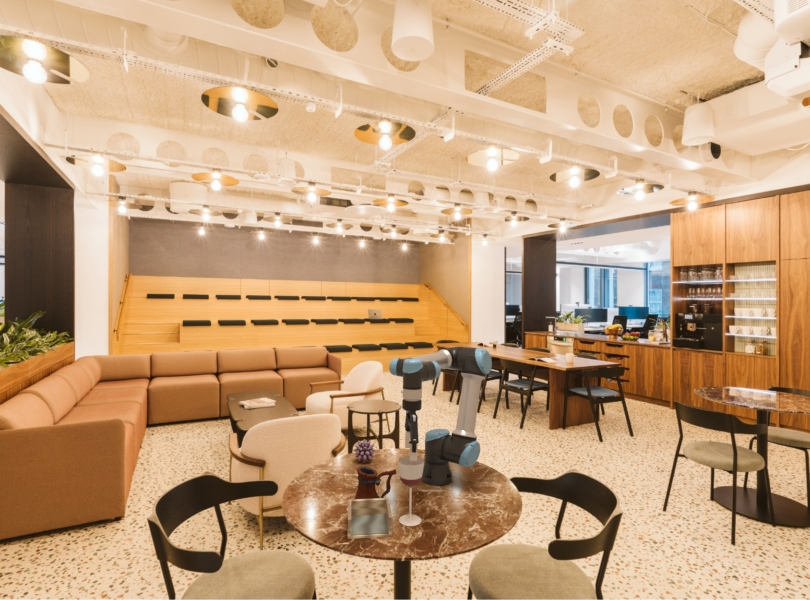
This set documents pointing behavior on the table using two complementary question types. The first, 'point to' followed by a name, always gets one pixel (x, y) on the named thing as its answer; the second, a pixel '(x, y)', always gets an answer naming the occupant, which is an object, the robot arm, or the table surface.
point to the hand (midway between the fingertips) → (410, 453)
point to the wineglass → (410, 484)
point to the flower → (364, 450)
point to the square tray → (369, 518)
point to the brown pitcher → (371, 482)
